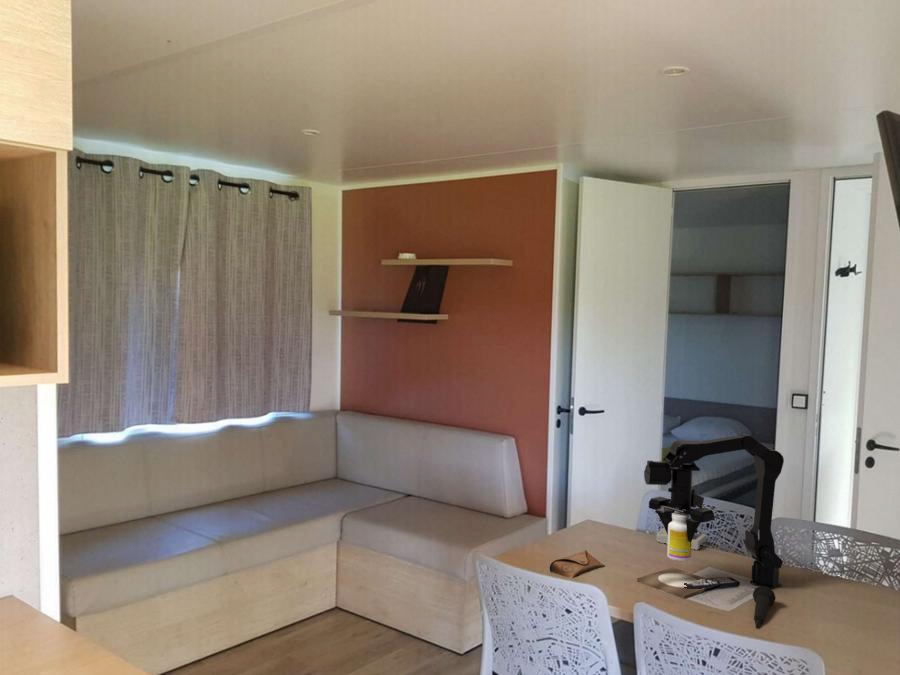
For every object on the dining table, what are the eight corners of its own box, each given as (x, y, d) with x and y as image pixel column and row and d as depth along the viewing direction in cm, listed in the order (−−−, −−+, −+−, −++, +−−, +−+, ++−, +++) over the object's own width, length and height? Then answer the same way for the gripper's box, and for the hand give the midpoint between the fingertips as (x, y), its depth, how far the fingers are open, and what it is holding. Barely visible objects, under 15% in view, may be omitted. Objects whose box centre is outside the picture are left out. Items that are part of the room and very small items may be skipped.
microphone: (764, 642, 184) (771, 605, 201) (772, 623, 182) (779, 587, 200) (742, 631, 186) (751, 595, 204) (750, 612, 185) (758, 578, 202)
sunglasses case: (572, 579, 216) (563, 556, 218) (555, 585, 220) (546, 563, 222) (607, 565, 228) (598, 544, 231) (590, 571, 233) (581, 551, 235)
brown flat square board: (719, 585, 213) (719, 582, 213) (684, 598, 203) (684, 595, 203) (672, 569, 226) (672, 566, 226) (636, 581, 216) (637, 577, 215)
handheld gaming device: (663, 537, 261) (663, 526, 261) (706, 545, 252) (706, 534, 252) (654, 543, 253) (655, 532, 253) (698, 552, 245) (698, 540, 245)
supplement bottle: (693, 562, 211) (695, 518, 211) (670, 561, 211) (672, 517, 211) (687, 555, 218) (688, 511, 217) (664, 554, 218) (665, 511, 218)
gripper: (726, 488, 211) (724, 542, 212) (671, 475, 226) (669, 526, 227) (703, 493, 204) (701, 549, 205) (648, 480, 219) (646, 532, 220)
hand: (679, 538), depth 214 cm, fingers closed on supplement bottle, 7 cm apart
